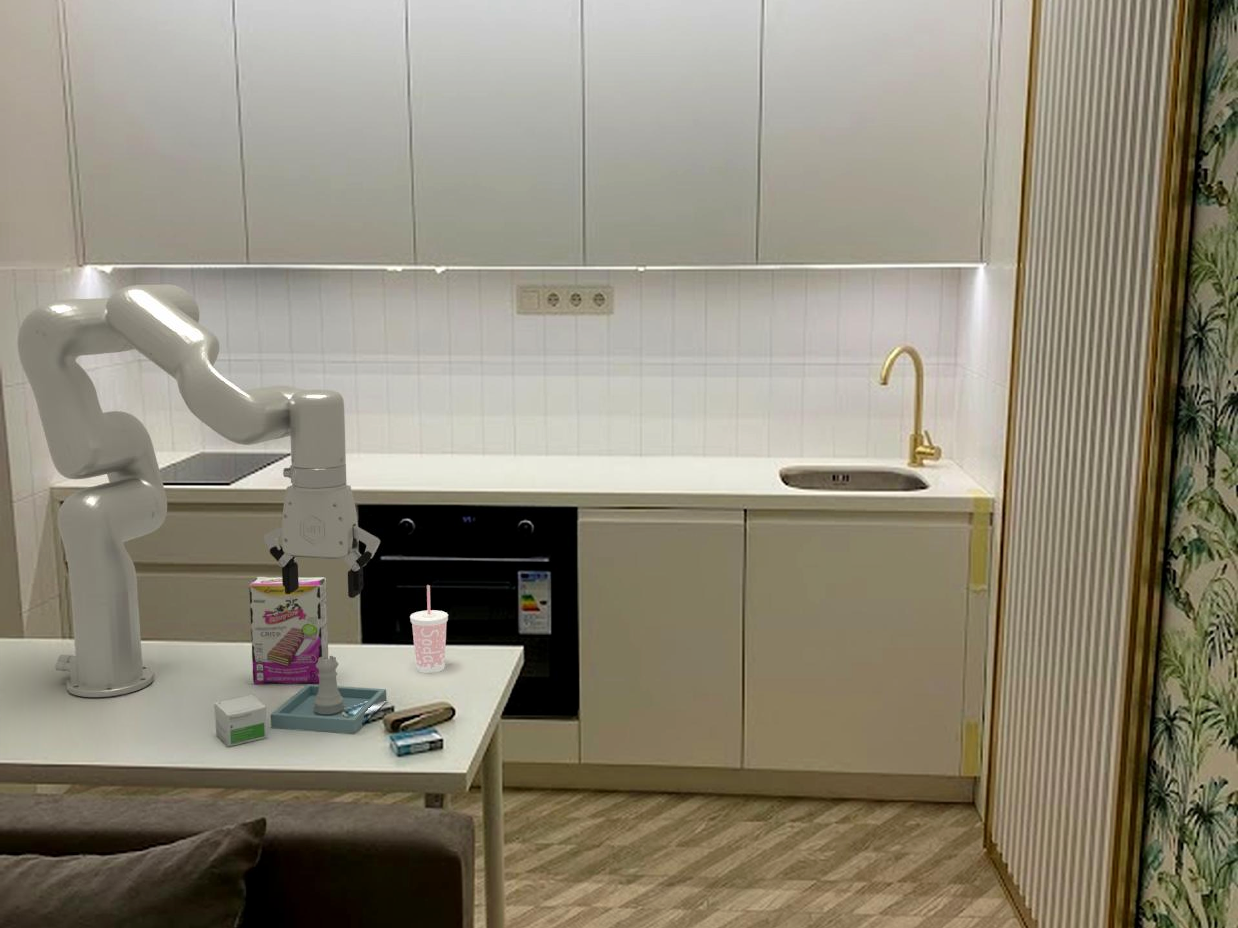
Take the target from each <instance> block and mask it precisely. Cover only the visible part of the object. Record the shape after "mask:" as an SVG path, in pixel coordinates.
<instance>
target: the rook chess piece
mask: <svg viewBox="0 0 1238 928" xmlns="http://www.w3.org/2000/svg"><path fill="white" fill-rule="evenodd" d="M338 666H339V663H338V661H337V658H336V656H333V655H328V659H327V656H323V659H322V657H320V658H319V659H318V663H317V664H316V667H317V668H318V669H319V674H318V677H319V683H318V685H319V690H318V694H317V695H316V696H317V697H316V698H315V700H314V705H315V707H314V708H313V709H314V711H315V712H316V713H317V714H319V715H334V714H337V713H340V712H341V711H342V710H343V708H344V705H343V704H342V703H343V701H344V700H343V697H342V696H341V695H340V692H339V691H338V687H337V686H338V683H337V676H338V672H337V671H336V669H337V667H338Z"/></svg>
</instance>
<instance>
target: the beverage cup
mask: <svg viewBox="0 0 1238 928" xmlns="http://www.w3.org/2000/svg"><path fill="white" fill-rule="evenodd" d="M426 597H427V598H426V602H427V607H426V608H427V609H426V610H421V611H416V612H413V613H411V614H410V616H409V619H410V623H411V624H412V625H411V627H412V636H413V639H412V640H413V646H414V647H413V648H414V658H415V659H414V661H415V670H416V671H417V672H418V673H423V674H434V673H438V672H441V671H443V670H445V665H446V643H447V642H446V641H447V622H448V620H449V614H448V612H445V611H443V610H436V609H435V610H434V609H432V610H431V585H429V584H427V585H426Z"/></svg>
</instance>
